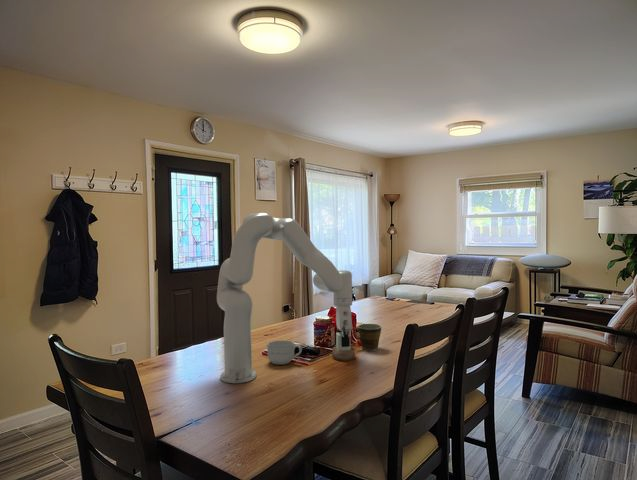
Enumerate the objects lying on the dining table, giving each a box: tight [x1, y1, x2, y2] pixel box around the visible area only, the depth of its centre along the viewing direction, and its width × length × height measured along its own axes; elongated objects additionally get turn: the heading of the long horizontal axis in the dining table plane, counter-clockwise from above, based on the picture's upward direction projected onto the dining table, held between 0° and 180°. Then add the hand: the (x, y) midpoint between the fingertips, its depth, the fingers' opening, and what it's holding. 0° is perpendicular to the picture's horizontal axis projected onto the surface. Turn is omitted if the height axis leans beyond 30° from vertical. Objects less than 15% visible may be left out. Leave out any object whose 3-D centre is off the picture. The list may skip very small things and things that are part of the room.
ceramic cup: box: [351, 323, 382, 353], centre depth 182 cm, size 13×10×10 cm
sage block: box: [335, 331, 352, 351], centre depth 171 cm, size 5×5×6 cm
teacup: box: [266, 339, 303, 366], centre depth 165 cm, size 14×11×8 cm
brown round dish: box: [331, 346, 356, 362], centre depth 171 cm, size 9×9×4 cm
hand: (343, 343), depth 171 cm, fingers open, 9 cm apart
